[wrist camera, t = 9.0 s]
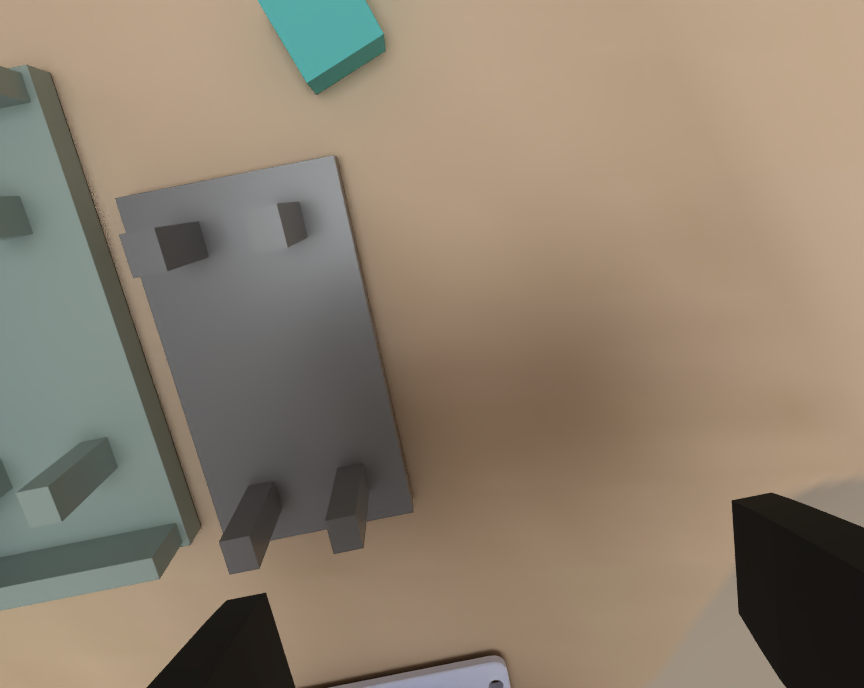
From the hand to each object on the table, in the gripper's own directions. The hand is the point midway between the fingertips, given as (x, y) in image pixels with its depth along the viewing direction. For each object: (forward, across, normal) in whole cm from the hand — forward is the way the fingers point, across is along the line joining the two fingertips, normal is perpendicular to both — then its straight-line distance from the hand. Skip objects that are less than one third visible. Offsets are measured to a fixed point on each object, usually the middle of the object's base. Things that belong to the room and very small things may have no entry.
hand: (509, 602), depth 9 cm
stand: (+10, +5, -2) cm, 11 cm away
